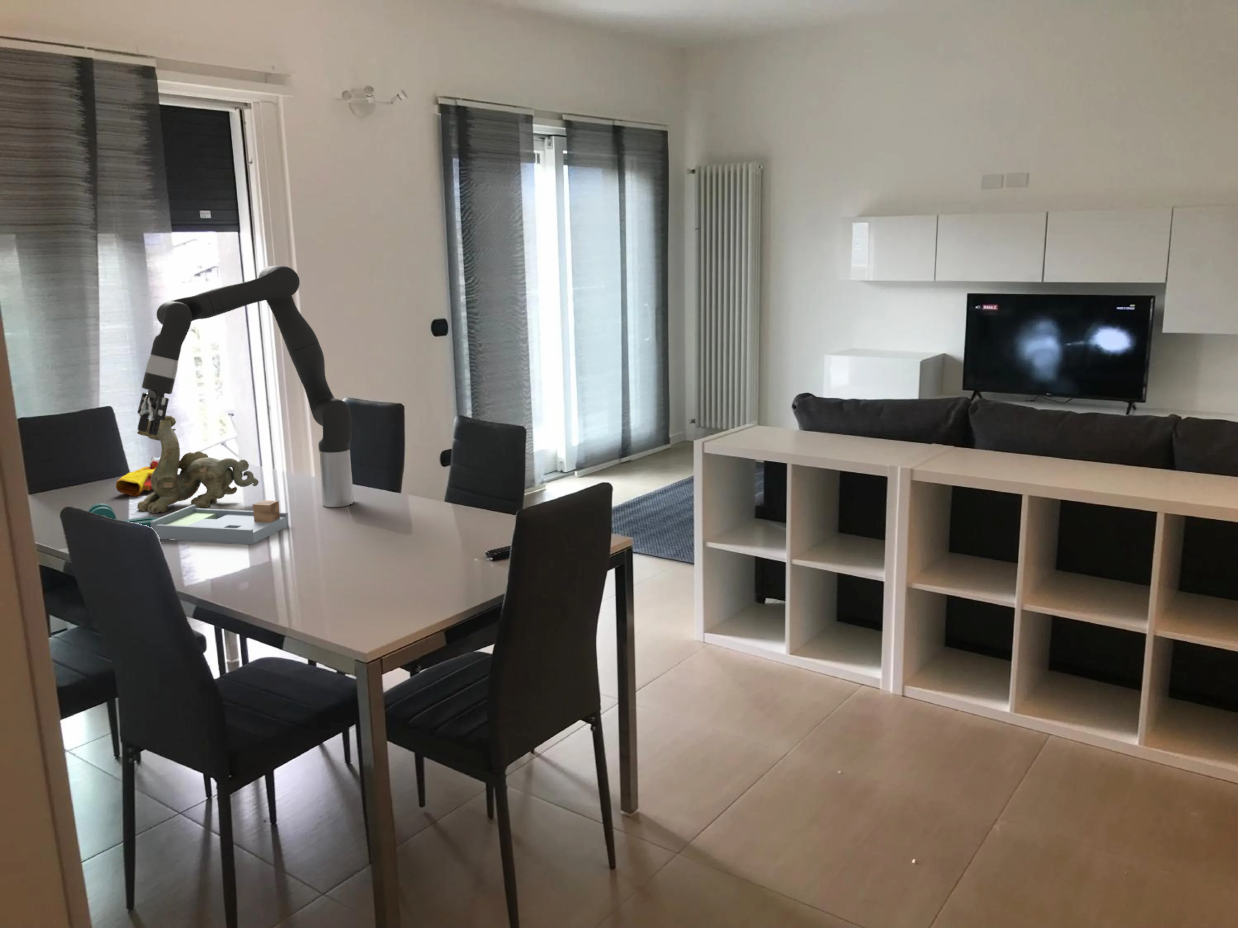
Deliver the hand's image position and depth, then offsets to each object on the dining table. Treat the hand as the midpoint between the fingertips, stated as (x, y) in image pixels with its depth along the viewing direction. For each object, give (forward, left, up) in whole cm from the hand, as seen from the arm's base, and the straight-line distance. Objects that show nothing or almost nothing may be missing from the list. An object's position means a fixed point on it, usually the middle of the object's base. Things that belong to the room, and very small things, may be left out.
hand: (146, 432), depth 267 cm
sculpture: (-35, -12, -30) cm, 47 cm away
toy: (-56, -41, -30) cm, 75 cm away
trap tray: (-8, +15, -29) cm, 34 cm away
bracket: (-6, -15, -30) cm, 34 cm away
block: (-13, +26, -26) cm, 39 cm away
